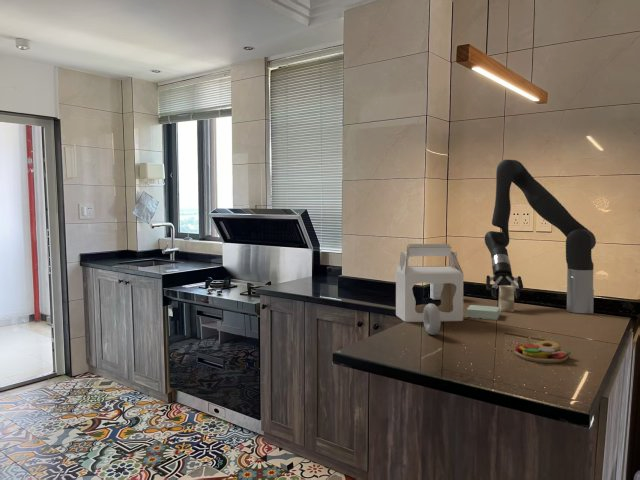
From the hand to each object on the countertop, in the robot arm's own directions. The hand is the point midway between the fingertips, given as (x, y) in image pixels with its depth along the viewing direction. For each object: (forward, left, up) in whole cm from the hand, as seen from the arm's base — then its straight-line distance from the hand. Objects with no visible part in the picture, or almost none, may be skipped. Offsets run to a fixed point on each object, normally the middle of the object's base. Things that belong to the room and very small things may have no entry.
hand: (506, 297), depth 194 cm
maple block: (0, 0, -5) cm, 5 cm away
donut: (+18, +57, -6) cm, 60 cm away
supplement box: (+31, -21, -6) cm, 38 cm away
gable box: (+25, +30, -6) cm, 39 cm away
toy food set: (-14, +70, -6) cm, 71 cm away
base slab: (+7, +17, -6) cm, 19 cm away
